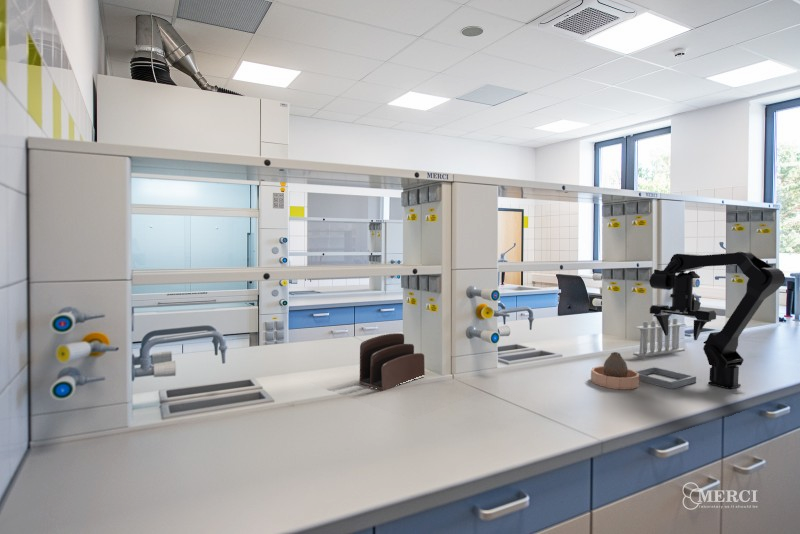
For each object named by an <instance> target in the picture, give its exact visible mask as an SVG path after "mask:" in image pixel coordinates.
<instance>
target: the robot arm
mask: <svg viewBox="0 0 800 534" xmlns="http://www.w3.org/2000/svg"><path fill="white" fill-rule="evenodd" d="M719 266H720V267H722V266H737V267H738V268H739V269H740V270H741V272H742V274H743V275H745V277H747V278H748V280H747V282H746V289H745V290H746V291H745V294H744V295H743V297H742V299H740V301H739V303H738V305H737V306H736V308H735V309H734V311H733V312H732V313H731V316H729V318H728V320H727V321H726V322H725V324H724V326H723V327H722V329H721V331H716V332H710V333H709V334H708V336H707V338H706V339H705V341H704V342H702V343H703V344H704V345H703V348H702V351H704V354H705V356H706V359H707V361H708V365H709V366H711V367H709V376H708V377H709V378H708V379H709V381H708V384H709V385H714V386H718V387H721V388H726V389H729V390H731V389H735V388H737V387H741V383H739V373H740V372H739V369H740V367H741V366H742V365H743V363H744V358H743V357H742V356H741V354H739V352H738V351H737V349H738V347H739V337H740V336H741V334H742V333H743V331H744V330H745V328H746V327H747V326H748V324H749V322H750V321H751V319H753V316H754V315H755V314H756V312H757V311H758V309H759V308H760V307H761V305H762V303H763V302H764V301H765V300H767V298H769V297H770V296H771V295H773V294H774V293H775V292H777V291H778V290H779V288H781V287H782V286H783V285H784V283H785V282H786V277H785V273H784V272H783V270H781V269H780V268H776V267H773V266H772V265H771V264H769V263H768V262H766V261H764V260H762V259H760V258H759V257H758V256H756V255H755V254H754V253H752V252H750V251H737V252H731V253H729V252H727V253H715V254H699V253H698V254H697V253H675V254H673V255H672V256H671V257H670V260H669V262H668V263H667V265H666V266H665V267H664V269H659V268H656V269H655V268H654V269H653V273H652V274H651V276H650V278H649V280H648V281H649V286H650V287H651V288H652V289H654V290H655V289H657V290H665V291H667V290H668V291H670V290H672V293H671V294H670V298H671V305H670V306H669V305H668V304H667V305H666V304H652V305H651V306H650V308H649V314H652V315H653V316H652V317H655V318H656V320H657V322H658V321H659V323H660V325H661V327H662V329H663V335H664V337H665V336H668V319H670V317H671V315H679V316H688V317H695V319H693V340H694V341H698V338H699V336H700V334H701V332H702V330H703V328H704V327H705V325H706V324H707V323H710V322H712V321H714V320H717V313H716V311H715V310H712V309H704V308H703V309H700V308H701V302H700V301H698V300H696V299H695V294H693V288H694V285H693V284H694V279H700V277H701V276H700V275H699V274H698V273H696V271H695V270H699V269H702V268H706V267H719ZM687 271H688V272H687Z"/></svg>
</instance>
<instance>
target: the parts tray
mask: <svg viewBox="0 0 800 534" xmlns="http://www.w3.org/2000/svg"><path fill="white" fill-rule="evenodd" d="M634 371H635V372H637V373H639V382H640V381H641V382H645V383H648V384H652V385H656V386H660V387H664V388H667V389H671V390H674V389H677V388H681V387H684V386H688V385H691V384H694V383H697V376H696V375H691V374H688V373H687V374H686V373H682V372H679V371H678V372H677V371H674V370H671V369H666V368H661V367H657V366H651V367H646V368H642V369H637V370H634ZM650 374H657V375H662V376H667V377H669V378H670V377H671V378H675V379H677V380H673V381H669V380H666V379H661V378H657V377H652V376H648V375H650Z"/></svg>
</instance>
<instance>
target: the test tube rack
mask: <svg viewBox="0 0 800 534" xmlns="http://www.w3.org/2000/svg"><path fill="white" fill-rule="evenodd" d="M680 326H686V323H683V322H678V317H673V318H672V322H671V319H670V318H669V319H668V336H665V335H664V332H663V329H662V327H661V325H660V323H659V321H658V320H657V321H656V320H650V324H649V321H648V320H647V321H646V320H643V323H642V325H639V326H634V329H639V333H640V336H639V351H637V352H633V354H632V355H634V356H639V357H642V358H644V357H645V358H646V357H652V356H658V355H665V354H672V353H678V352H685V351H686V349H685V348H682V347H680V343H679V342H680ZM671 327H672V328H671ZM656 329H657V345H656ZM649 330H650V332H649ZM649 334H650V335H649ZM663 335H664V336H663ZM648 336H649V337H648ZM663 337H664V338H663ZM670 337H671V340H670ZM648 339H649V341H648ZM663 339H664V347H663ZM670 341H671V343H670ZM648 342H649V350H648ZM670 344H671V347H670ZM656 347H657V349H656Z"/></svg>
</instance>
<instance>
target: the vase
mask: <svg viewBox="0 0 800 534" xmlns="http://www.w3.org/2000/svg"><path fill="white" fill-rule="evenodd" d="M602 366H603V372H604V375H606V376H611V377H619V378H622V377H626V376H627V372H628V369H629V368H628V365H627V362H626V361H625V359H624V358H623V357H622V355H621V353H620V352H616V351H615V352H614V351H613V352H611V353H610V355H609V356H608V357H607V359H605V361H604V363H603V365H602Z"/></svg>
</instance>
